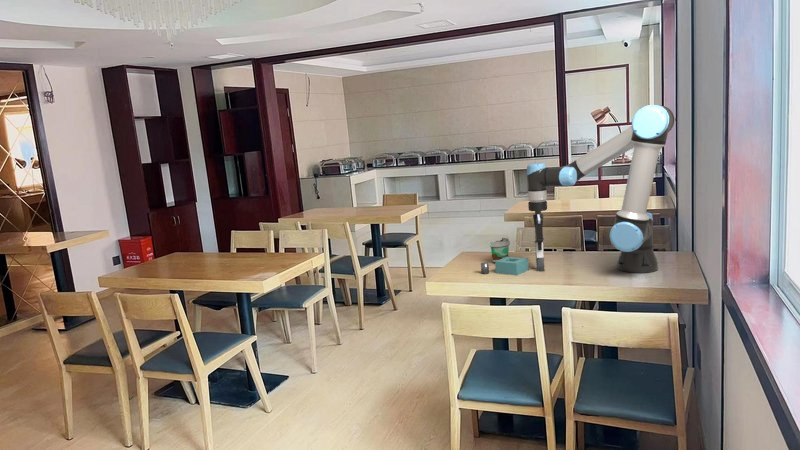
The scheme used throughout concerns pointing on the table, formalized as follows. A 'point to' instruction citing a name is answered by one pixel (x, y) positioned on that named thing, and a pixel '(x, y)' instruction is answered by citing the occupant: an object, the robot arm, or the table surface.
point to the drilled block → (511, 265)
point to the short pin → (484, 268)
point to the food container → (499, 249)
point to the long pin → (539, 261)
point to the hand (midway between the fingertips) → (539, 256)
